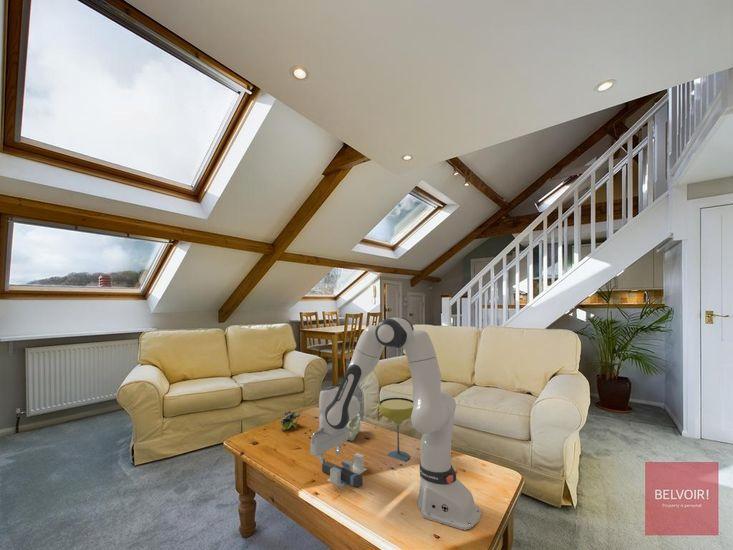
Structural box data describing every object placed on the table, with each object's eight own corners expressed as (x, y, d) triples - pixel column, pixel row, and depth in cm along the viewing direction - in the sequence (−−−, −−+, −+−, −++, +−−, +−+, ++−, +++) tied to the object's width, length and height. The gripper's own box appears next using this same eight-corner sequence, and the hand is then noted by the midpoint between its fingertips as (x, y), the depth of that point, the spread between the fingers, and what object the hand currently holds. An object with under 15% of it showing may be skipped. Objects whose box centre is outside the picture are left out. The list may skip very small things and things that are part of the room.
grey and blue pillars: (368, 472, 144) (367, 457, 144) (341, 491, 130) (341, 473, 131) (353, 466, 149) (353, 451, 149) (326, 483, 136) (326, 467, 136)
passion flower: (287, 435, 196) (293, 414, 203) (300, 436, 190) (306, 414, 198) (274, 429, 189) (281, 408, 197) (287, 429, 184) (293, 408, 191)
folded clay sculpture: (351, 453, 175) (350, 433, 169) (332, 442, 182) (330, 422, 175) (369, 429, 189) (369, 409, 182) (350, 419, 195) (350, 400, 189)
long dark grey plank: (362, 484, 132) (362, 475, 132) (357, 487, 130) (357, 479, 130) (327, 468, 144) (327, 460, 145) (321, 471, 142) (321, 463, 142)
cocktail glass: (405, 445, 170) (404, 395, 171) (425, 461, 153) (423, 406, 155) (373, 452, 162) (372, 400, 164) (390, 469, 146) (389, 412, 147)
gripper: (317, 434, 132) (317, 470, 131) (350, 419, 148) (351, 451, 147) (306, 431, 136) (306, 466, 135) (340, 416, 152) (340, 447, 151)
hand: (330, 458), depth 141 cm, fingers open, 8 cm apart
